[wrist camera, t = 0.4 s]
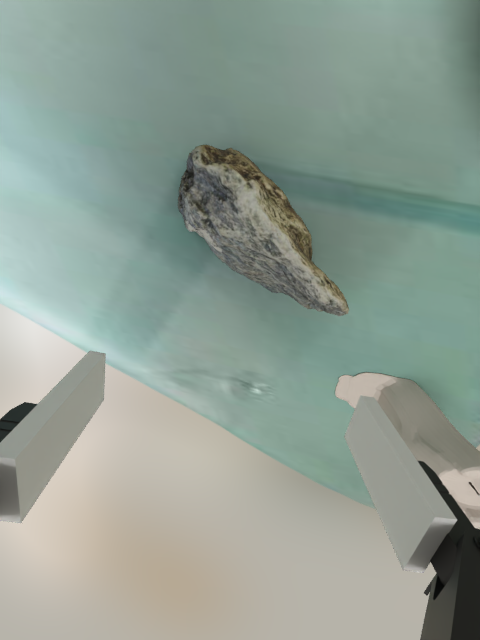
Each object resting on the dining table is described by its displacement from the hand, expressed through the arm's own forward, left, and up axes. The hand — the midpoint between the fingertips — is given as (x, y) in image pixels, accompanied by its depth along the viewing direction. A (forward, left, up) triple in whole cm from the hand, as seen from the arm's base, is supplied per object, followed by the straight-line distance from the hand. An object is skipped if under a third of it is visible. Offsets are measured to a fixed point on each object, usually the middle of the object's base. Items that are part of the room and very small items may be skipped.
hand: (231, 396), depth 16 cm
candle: (+14, +25, -28) cm, 40 cm away
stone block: (-6, +1, -28) cm, 28 cm away
